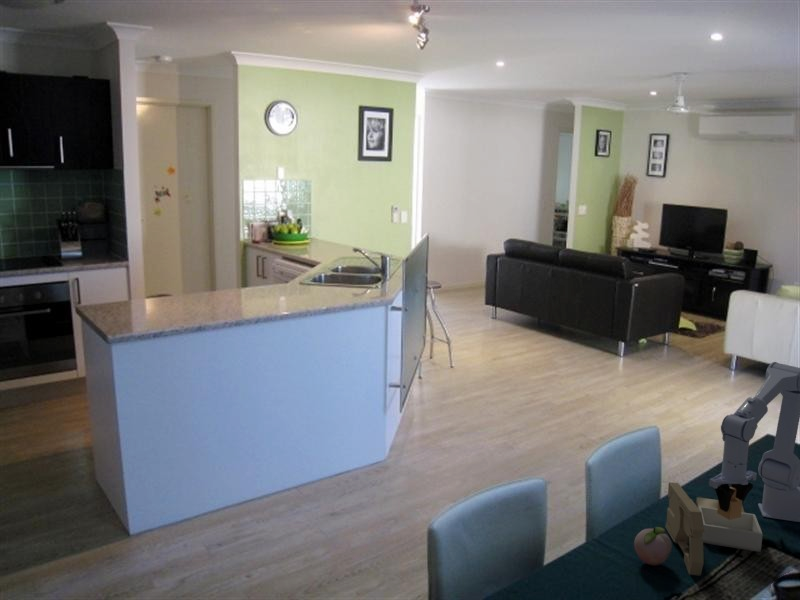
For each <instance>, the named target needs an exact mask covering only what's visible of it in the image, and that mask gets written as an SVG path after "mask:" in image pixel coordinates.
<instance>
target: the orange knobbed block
mask: <svg viewBox="0 0 800 600" xmlns="http://www.w3.org/2000/svg"><path fill="white" fill-rule="evenodd" d="M730 488H731V489H733V490H735V492H734V493H733V495H732V497H731V500H730V506H729V510H728V512H725V511H723V510H721V509H720V506H719V501H718V511H717V513H718V514H720V515H721V516H723V517H725V518H727V519H729V520H732V519H736V518H741V511H742V506H743V504H742V500H741V499H739V498H737V497H736V489H735V488H733V487H732V486H730Z"/></svg>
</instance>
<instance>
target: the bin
mask: <svg viewBox="0 0 800 600" xmlns="http://www.w3.org/2000/svg"><path fill="white" fill-rule="evenodd" d="M698 508H699V510H700V511H701V513H702V519H703V524H704V532H702V537H701V538H702V539H703V544H709V545H715V546H720V547H721V546H722V547H726V548H727V547H728V548H733V549H739V550H744V551H745V550H748V551H753V552H757V553H762V552H761V551H762V543H763V536H764V535H763V532H762V528H761V526H760V524H759V522H758V518H757V516H756V514H754V513H748V512H745V513H743V512H741V518H736V519H732V520H729V519H727V518H725V517H723V516H721V515H720V514H718V513H717V511H718V509H715V508H709V507H702V506H699V507H698Z"/></svg>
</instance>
